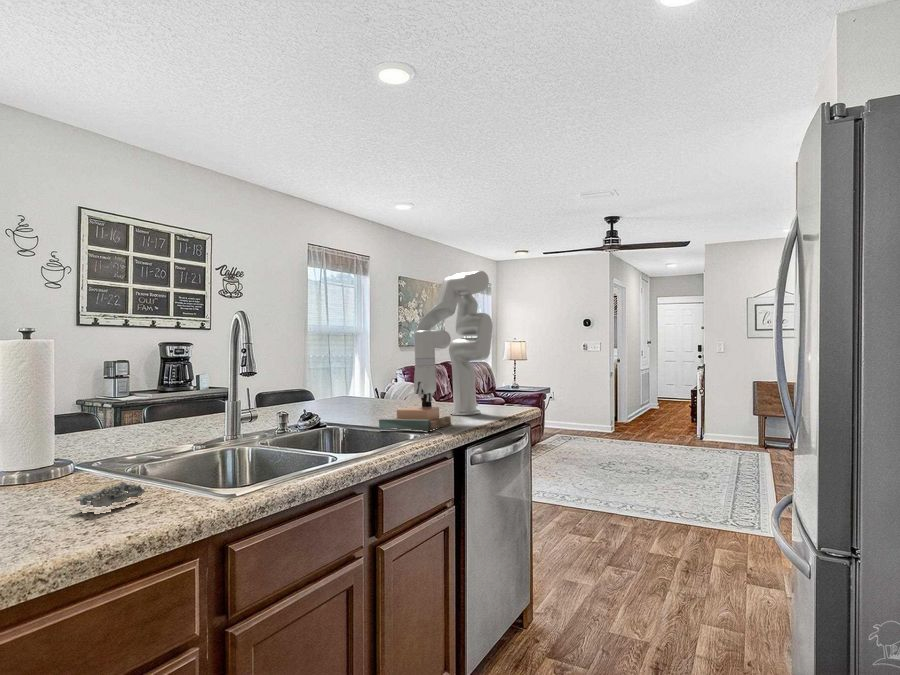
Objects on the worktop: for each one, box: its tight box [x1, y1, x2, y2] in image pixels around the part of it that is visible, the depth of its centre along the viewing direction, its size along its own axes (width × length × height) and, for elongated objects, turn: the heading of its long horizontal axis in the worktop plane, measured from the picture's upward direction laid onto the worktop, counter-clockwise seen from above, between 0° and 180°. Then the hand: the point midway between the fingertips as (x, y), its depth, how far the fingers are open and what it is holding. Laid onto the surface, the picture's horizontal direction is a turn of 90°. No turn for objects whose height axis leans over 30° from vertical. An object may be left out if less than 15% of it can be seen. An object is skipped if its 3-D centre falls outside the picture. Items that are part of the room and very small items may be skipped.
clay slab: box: [396, 406, 440, 421], centre depth 197 cm, size 10×12×4 cm
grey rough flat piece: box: [75, 482, 148, 507], centre depth 107 cm, size 11×8×4 cm
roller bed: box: [378, 415, 452, 431], centre depth 195 cm, size 19×19×4 cm
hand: (427, 412), depth 203 cm, fingers closed
